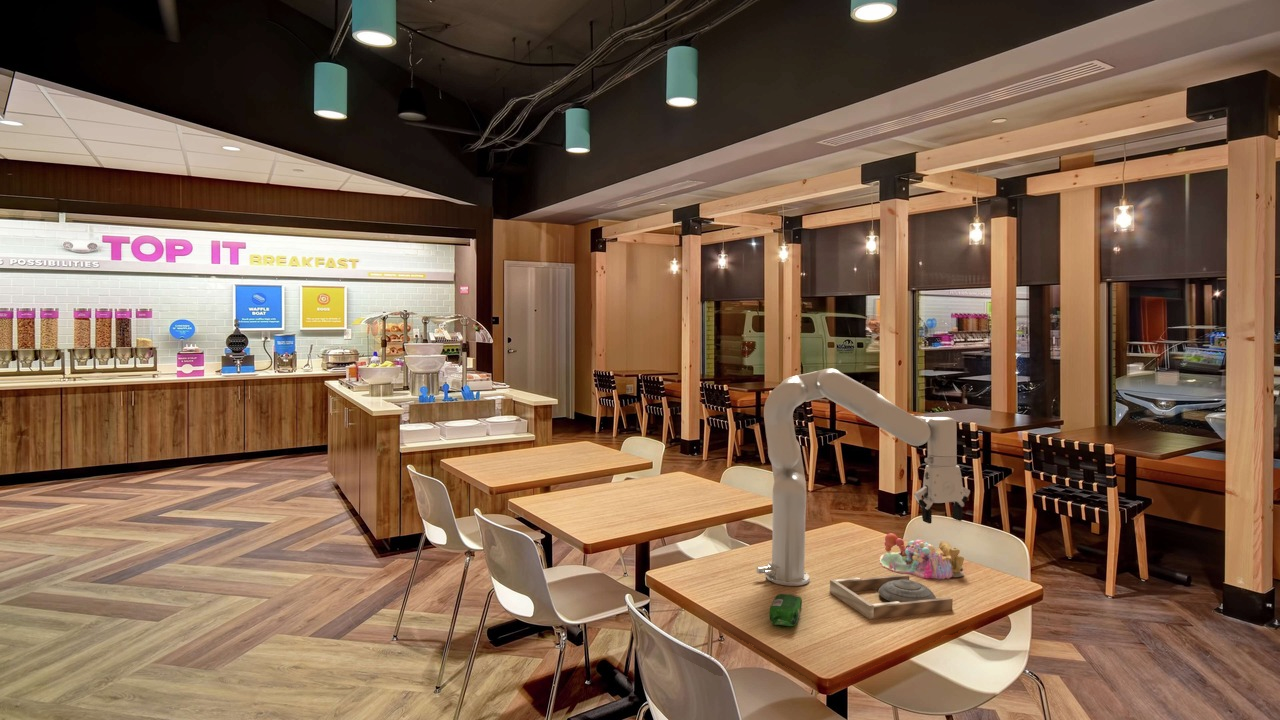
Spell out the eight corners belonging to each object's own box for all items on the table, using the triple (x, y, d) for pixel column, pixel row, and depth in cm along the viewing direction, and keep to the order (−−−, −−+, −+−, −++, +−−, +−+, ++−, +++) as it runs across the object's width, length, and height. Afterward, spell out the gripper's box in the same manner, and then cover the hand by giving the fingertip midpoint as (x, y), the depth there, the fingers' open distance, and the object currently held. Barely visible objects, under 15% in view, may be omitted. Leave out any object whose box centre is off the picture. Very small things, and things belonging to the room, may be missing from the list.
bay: (869, 619, 180) (869, 605, 179) (829, 591, 198) (830, 579, 198) (952, 609, 186) (952, 597, 186) (906, 584, 205) (906, 572, 205)
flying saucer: (871, 589, 201) (871, 570, 201) (923, 590, 201) (924, 571, 201) (888, 610, 186) (888, 589, 186) (945, 611, 186) (945, 591, 186)
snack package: (766, 630, 173) (766, 609, 172) (776, 607, 187) (777, 587, 187) (795, 635, 170) (796, 614, 170) (803, 611, 185) (804, 591, 185)
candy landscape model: (949, 557, 231) (950, 529, 231) (976, 582, 208) (977, 552, 207) (872, 554, 234) (872, 527, 233) (890, 579, 210) (891, 548, 210)
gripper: (922, 465, 192) (923, 526, 192) (977, 461, 195) (977, 522, 196) (906, 460, 199) (907, 519, 199) (960, 457, 203) (960, 515, 203)
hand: (942, 521), depth 198 cm, fingers open, 9 cm apart
